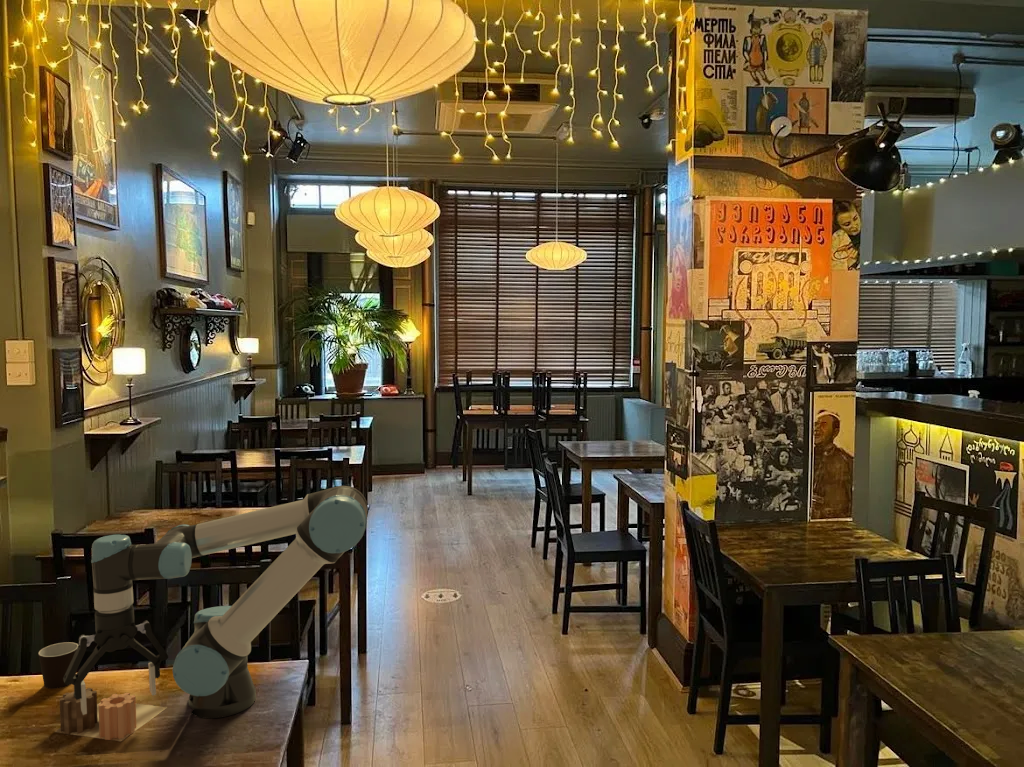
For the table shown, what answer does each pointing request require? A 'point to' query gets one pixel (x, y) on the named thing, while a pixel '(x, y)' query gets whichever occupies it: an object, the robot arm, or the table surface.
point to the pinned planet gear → (78, 712)
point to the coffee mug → (56, 663)
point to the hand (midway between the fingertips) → (119, 702)
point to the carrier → (142, 717)
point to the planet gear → (117, 716)
